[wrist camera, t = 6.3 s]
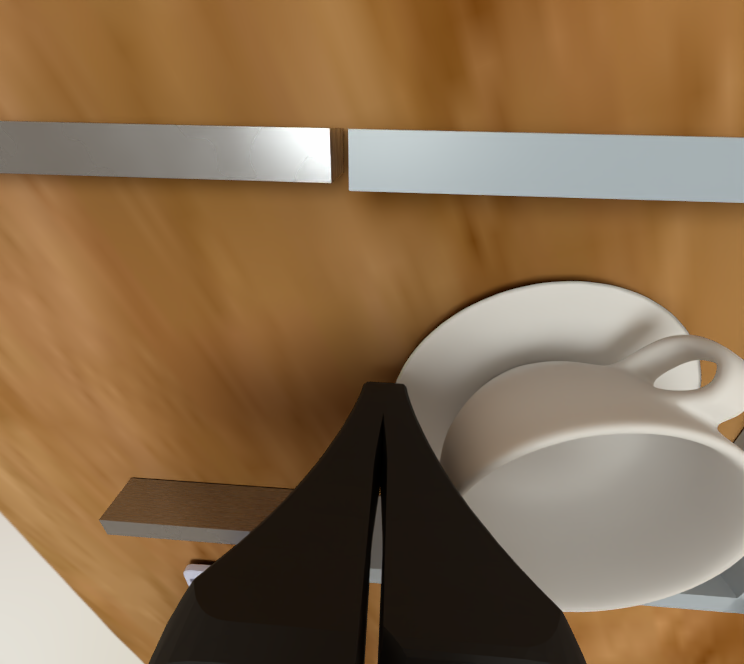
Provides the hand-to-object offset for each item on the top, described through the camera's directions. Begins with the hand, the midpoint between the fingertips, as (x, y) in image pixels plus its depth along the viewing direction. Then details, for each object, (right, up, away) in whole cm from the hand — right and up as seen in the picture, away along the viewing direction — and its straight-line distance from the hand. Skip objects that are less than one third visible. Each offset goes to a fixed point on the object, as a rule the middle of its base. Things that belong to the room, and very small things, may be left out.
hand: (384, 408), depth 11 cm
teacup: (+5, 0, +2) cm, 6 cm away
